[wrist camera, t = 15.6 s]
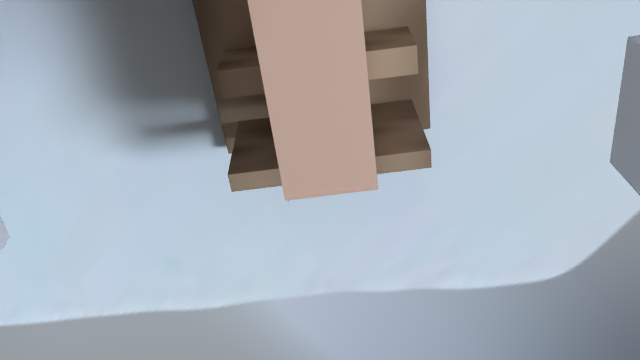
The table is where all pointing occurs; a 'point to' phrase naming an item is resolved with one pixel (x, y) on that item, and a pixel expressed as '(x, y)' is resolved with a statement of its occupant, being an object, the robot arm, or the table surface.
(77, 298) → the table surface
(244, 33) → the rack
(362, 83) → the pinkish tan block
